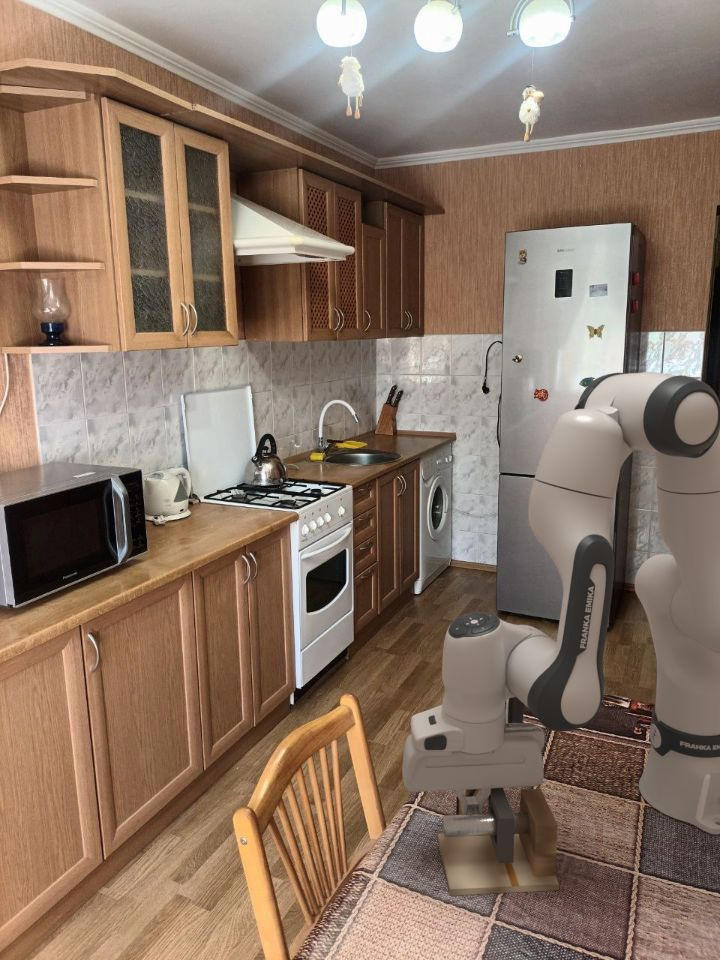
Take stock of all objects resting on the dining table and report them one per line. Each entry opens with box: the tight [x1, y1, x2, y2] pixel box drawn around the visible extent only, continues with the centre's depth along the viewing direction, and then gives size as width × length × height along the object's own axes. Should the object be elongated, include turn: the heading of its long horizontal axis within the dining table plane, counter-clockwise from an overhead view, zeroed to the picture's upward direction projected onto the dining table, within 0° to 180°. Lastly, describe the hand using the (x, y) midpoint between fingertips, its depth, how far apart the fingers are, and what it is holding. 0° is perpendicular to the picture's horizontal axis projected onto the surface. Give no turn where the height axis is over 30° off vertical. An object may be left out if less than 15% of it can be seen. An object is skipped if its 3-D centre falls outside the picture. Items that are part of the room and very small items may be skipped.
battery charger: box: [505, 696, 525, 724], centre depth 133 cm, size 7×4×11 cm, turn 148°
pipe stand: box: [437, 788, 560, 897], centre depth 103 cm, size 15×11×9 cm
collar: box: [487, 788, 515, 863], centre depth 102 cm, size 2×7×7 cm, turn 3°
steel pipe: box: [442, 811, 530, 837], centre depth 102 cm, size 14×3×3 cm, turn 93°
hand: (471, 811), depth 105 cm, fingers closed
